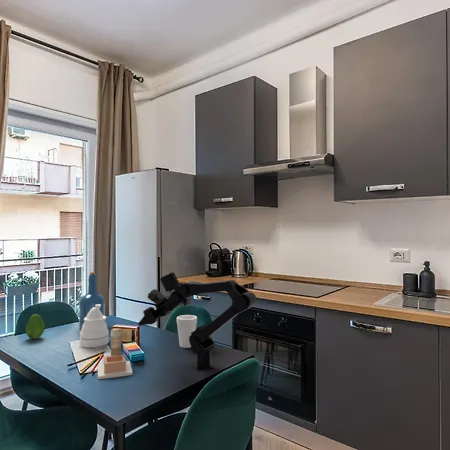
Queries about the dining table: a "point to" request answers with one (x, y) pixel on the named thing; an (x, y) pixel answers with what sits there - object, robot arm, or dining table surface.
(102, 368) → the tan box on base
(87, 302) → the wine bottle
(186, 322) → the foam cup
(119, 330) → the tan wooden cylinder
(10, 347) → the dining table surface
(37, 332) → the fruit
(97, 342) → the honey pot
